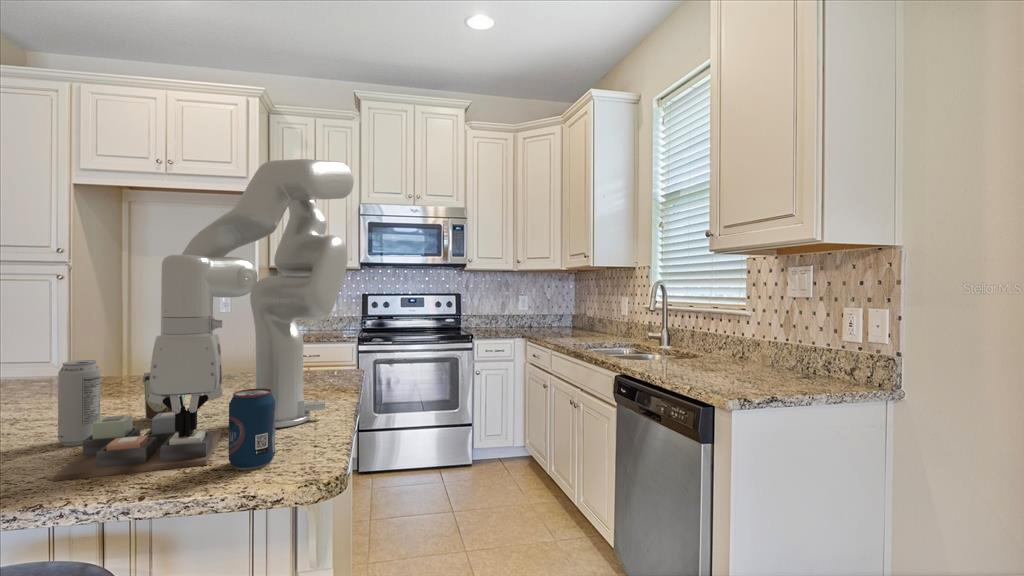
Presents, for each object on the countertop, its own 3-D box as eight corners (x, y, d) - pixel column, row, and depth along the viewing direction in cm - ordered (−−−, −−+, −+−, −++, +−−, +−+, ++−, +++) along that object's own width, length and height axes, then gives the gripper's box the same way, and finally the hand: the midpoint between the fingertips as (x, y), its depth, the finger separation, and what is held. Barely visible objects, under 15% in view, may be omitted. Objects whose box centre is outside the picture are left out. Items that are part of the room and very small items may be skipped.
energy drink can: (75, 437, 99) (75, 359, 99) (108, 437, 99) (108, 359, 99) (49, 447, 93) (49, 364, 93) (84, 446, 93) (84, 364, 93)
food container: (200, 420, 112) (201, 374, 112) (169, 426, 107) (169, 378, 107) (173, 412, 118) (173, 369, 118) (142, 418, 113) (142, 372, 113)
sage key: (132, 430, 93) (132, 413, 93) (124, 437, 89) (124, 420, 89) (102, 432, 92) (102, 416, 92) (92, 440, 88) (92, 422, 88)
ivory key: (205, 446, 91) (205, 429, 91) (200, 453, 87) (200, 436, 87) (175, 448, 89) (175, 431, 89) (169, 457, 85) (169, 439, 85)
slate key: (186, 425, 97) (186, 410, 97) (181, 432, 92) (181, 415, 92) (158, 428, 95) (158, 412, 95) (151, 434, 91) (151, 418, 91)
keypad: (222, 434, 101) (222, 418, 101) (206, 464, 85) (206, 445, 85) (97, 445, 94) (97, 428, 94) (53, 481, 77) (53, 460, 77)
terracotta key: (148, 451, 88) (148, 434, 88) (140, 460, 83) (140, 441, 83) (116, 454, 86) (116, 436, 86) (106, 463, 82) (106, 444, 82)
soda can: (221, 464, 85) (221, 392, 85) (263, 453, 90) (264, 385, 90) (239, 474, 80) (239, 398, 80) (282, 463, 86) (283, 391, 86)
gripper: (239, 325, 94) (238, 425, 94) (141, 326, 88) (140, 433, 88) (234, 328, 87) (232, 436, 87) (127, 329, 81) (126, 445, 81)
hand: (186, 434), depth 87 cm, fingers closed
